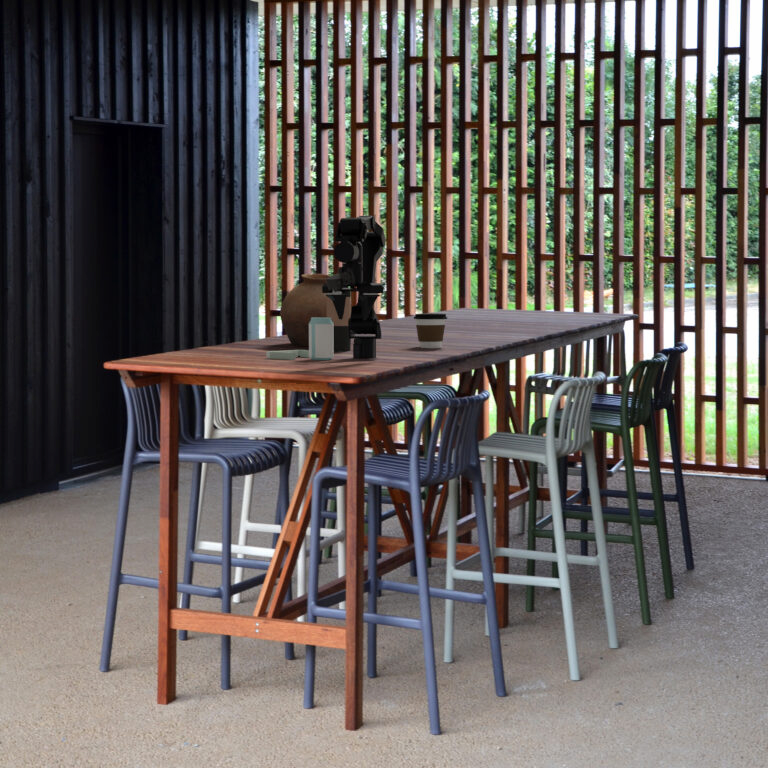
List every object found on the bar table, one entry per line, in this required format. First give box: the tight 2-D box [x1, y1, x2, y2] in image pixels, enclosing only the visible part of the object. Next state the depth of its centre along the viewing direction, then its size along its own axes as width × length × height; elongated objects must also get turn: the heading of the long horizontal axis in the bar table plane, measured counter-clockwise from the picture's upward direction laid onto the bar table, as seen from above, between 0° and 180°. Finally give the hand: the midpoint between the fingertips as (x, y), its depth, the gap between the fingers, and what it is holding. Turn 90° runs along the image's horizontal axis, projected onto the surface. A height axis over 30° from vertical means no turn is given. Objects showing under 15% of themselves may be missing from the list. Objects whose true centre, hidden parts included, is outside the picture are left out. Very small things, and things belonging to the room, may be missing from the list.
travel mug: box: [327, 292, 352, 352], centre depth 395 cm, size 8×8×20 cm
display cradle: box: [265, 349, 309, 361], centre depth 368 cm, size 13×10×2 cm
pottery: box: [279, 273, 331, 347], centre depth 411 cm, size 23×23×25 cm
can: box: [308, 318, 335, 361], centre depth 361 cm, size 7×7×12 cm
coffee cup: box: [413, 313, 448, 349], centre depth 408 cm, size 11×11×12 cm
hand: (352, 319), depth 352 cm, fingers open, 9 cm apart
